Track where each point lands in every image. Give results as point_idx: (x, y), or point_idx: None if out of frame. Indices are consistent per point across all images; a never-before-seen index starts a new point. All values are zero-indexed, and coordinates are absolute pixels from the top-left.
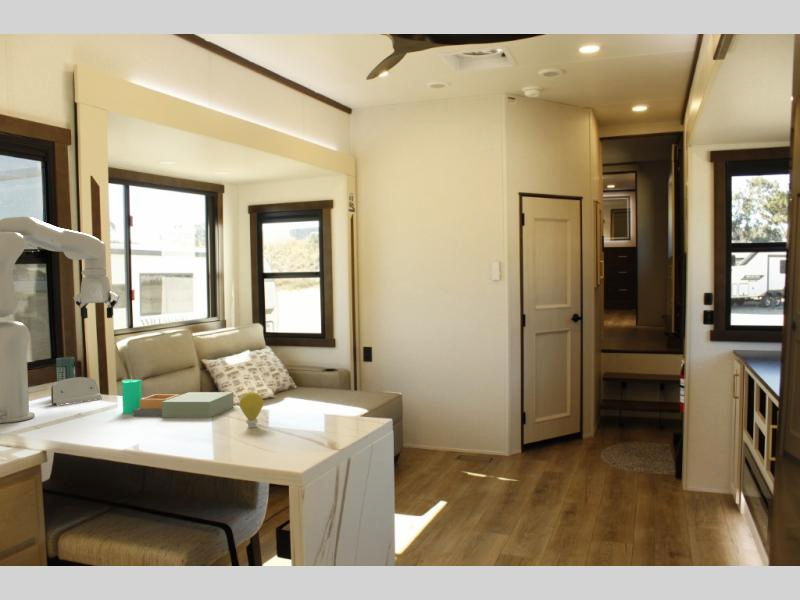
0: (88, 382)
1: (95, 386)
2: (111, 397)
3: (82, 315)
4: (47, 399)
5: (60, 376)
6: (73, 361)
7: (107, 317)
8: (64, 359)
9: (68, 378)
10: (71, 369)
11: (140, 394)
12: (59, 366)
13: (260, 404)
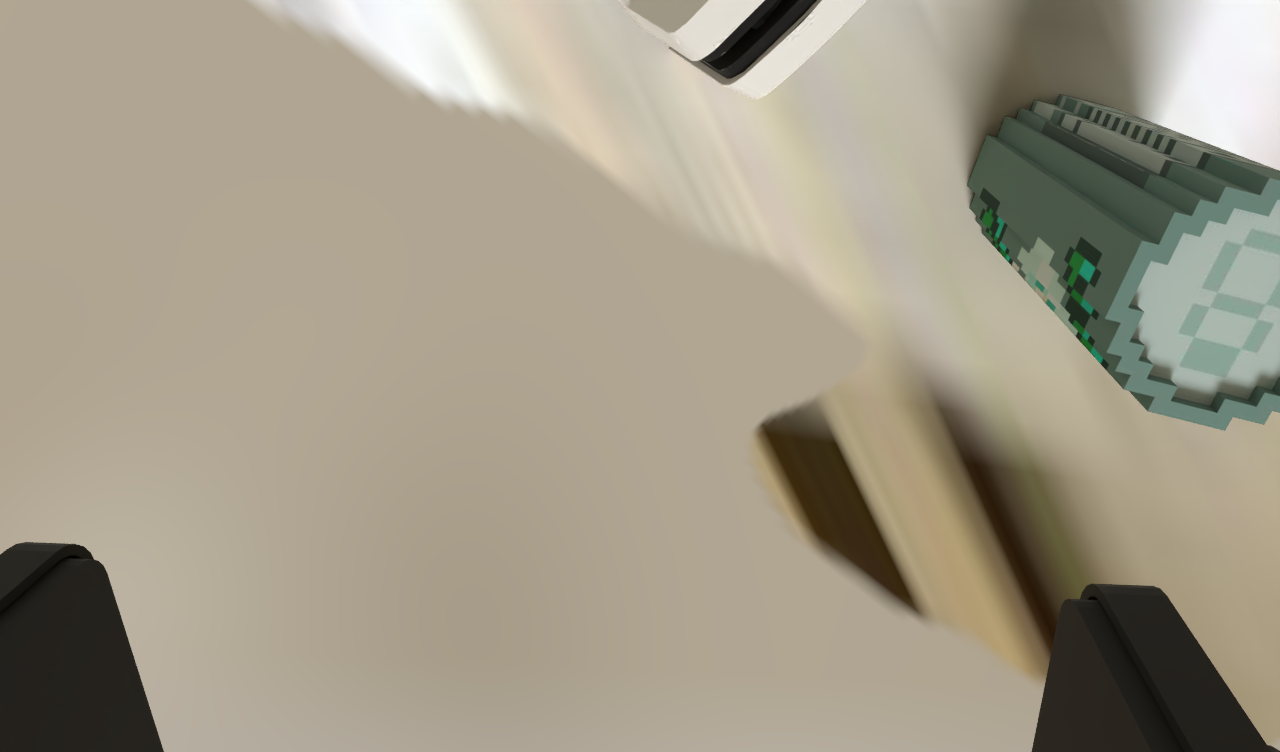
0: None
1: (661, 3)
2: (554, 77)
3: (1173, 669)
4: (1209, 32)
5: (1175, 136)
6: (1089, 291)
7: (63, 546)
8: (1215, 192)
9: (1066, 156)
10: (1071, 218)
11: None
12: (1251, 164)
13: None
